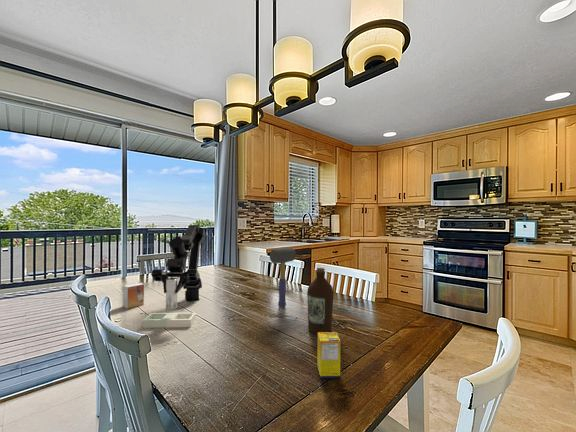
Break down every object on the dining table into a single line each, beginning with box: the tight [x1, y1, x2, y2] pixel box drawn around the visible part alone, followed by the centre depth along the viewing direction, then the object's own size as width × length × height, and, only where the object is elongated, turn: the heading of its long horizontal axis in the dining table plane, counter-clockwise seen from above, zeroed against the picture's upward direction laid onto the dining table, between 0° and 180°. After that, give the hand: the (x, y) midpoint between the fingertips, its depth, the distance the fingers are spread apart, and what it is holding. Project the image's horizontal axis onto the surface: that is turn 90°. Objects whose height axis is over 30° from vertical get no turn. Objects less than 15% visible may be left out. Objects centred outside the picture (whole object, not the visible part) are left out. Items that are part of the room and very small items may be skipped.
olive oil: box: [306, 267, 335, 335], centre depth 111 cm, size 11×11×25 cm
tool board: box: [141, 312, 197, 329], centre depth 115 cm, size 19×8×3 cm, turn 93°
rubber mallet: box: [269, 247, 297, 309], centre depth 137 cm, size 12×8×30 cm, turn 131°
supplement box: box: [316, 331, 341, 379], centre depth 81 cm, size 6×6×11 cm
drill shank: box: [165, 277, 178, 310], centre depth 115 cm, size 4×4×12 cm
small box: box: [122, 282, 145, 309], centre depth 136 cm, size 8×6×10 cm
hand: (170, 292), depth 113 cm, fingers closed on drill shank, 4 cm apart
